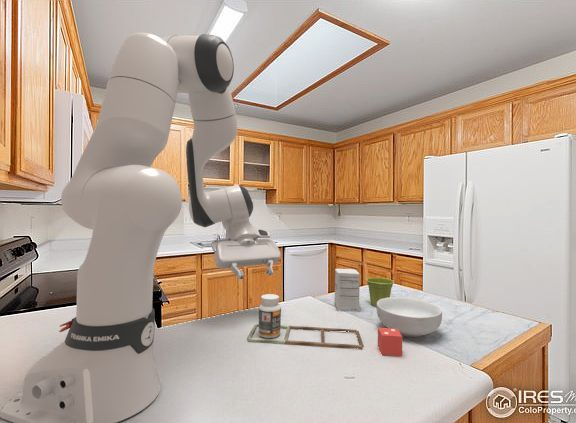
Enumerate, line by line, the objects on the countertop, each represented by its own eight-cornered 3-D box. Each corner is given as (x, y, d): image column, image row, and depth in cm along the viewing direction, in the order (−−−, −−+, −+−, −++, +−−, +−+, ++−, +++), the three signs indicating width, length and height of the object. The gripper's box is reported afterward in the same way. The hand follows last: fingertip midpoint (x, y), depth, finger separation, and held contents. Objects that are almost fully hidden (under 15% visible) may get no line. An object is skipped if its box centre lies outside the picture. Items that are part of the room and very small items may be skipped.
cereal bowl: (378, 316, 91) (378, 293, 91) (437, 324, 85) (437, 300, 85) (373, 338, 75) (374, 310, 75) (446, 350, 69) (446, 320, 69)
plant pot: (360, 304, 102) (360, 279, 102) (374, 299, 109) (374, 276, 109) (385, 311, 95) (385, 285, 95) (398, 305, 102) (398, 280, 102)
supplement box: (334, 303, 102) (334, 268, 102) (355, 304, 102) (355, 268, 102) (336, 311, 95) (337, 272, 95) (359, 311, 94) (360, 273, 94)
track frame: (246, 341, 71) (246, 339, 71) (255, 325, 81) (255, 323, 81) (364, 349, 68) (364, 346, 68) (358, 332, 78) (358, 329, 78)
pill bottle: (277, 340, 72) (278, 300, 72) (255, 337, 73) (256, 298, 73) (282, 331, 78) (283, 294, 78) (262, 329, 79) (262, 292, 79)
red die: (381, 355, 66) (382, 334, 66) (377, 346, 70) (377, 327, 70) (402, 356, 65) (402, 336, 65) (396, 347, 70) (397, 328, 70)
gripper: (212, 233, 83) (224, 273, 75) (273, 231, 94) (290, 266, 86) (207, 246, 87) (218, 286, 78) (266, 243, 98) (281, 278, 90)
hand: (256, 276), depth 82 cm, fingers open, 8 cm apart
